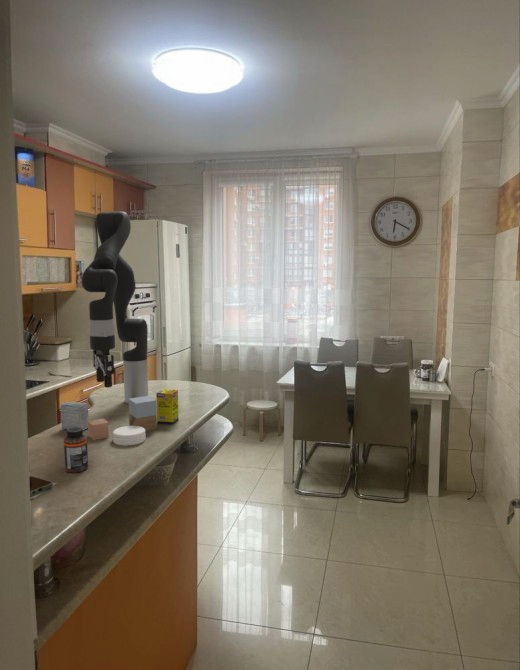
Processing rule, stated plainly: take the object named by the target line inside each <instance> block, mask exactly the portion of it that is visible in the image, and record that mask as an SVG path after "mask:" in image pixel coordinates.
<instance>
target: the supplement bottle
mask: <svg viewBox="0 0 520 670" xmlns="http://www.w3.org/2000/svg"><path fill="white" fill-rule="evenodd" d="M83 433H84V431H83V430H82V428H81V427H73V428H69V429H67V430H66V437H64V439H63V450H64V451H63V452H64V467H65V471H66V472H69V473H73V474H75V473H81V472H83V471H85V470H87V469H88V468H89V455H88V454H89V453H88V451H89V450H88V439H87V438H88V437H87V436H86V435H85V434H83Z"/></svg>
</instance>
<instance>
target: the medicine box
mask: <svg viewBox="0 0 520 670" xmlns="http://www.w3.org/2000/svg"><path fill="white" fill-rule="evenodd" d="M60 416H61V429H62V430H65V429H69V428H73V427H81V428H82V430H83V432H84V431H86V430H87V428H88V421H90V416H89V404H88V403H86V402H77V401H67V402H64V403H62V404H60ZM85 429H86V430H85Z"/></svg>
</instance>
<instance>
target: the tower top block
mask: <svg viewBox="0 0 520 670" xmlns="http://www.w3.org/2000/svg"><path fill="white" fill-rule="evenodd" d="M129 413H130V414H131V415H132V416H134V417H135V418H142V417H147V416H153V415H157V399H155V398H153V397H151V396H149V395H148V396H143V397H137V398H130V399H129V404H128V414H129Z"/></svg>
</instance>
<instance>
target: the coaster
mask: <svg viewBox="0 0 520 670" xmlns="http://www.w3.org/2000/svg"><path fill="white" fill-rule="evenodd" d="M146 439H147V438H146V431H145V429H144V428H143V427H140V426H129V425H125V426H120V427H117V428H115V429H114V430H113V431H112V443H113V444H115V445H117V446H125V447H126V446H128V445H129V446H135V445H139V444H141V443H144V441H146Z"/></svg>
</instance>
